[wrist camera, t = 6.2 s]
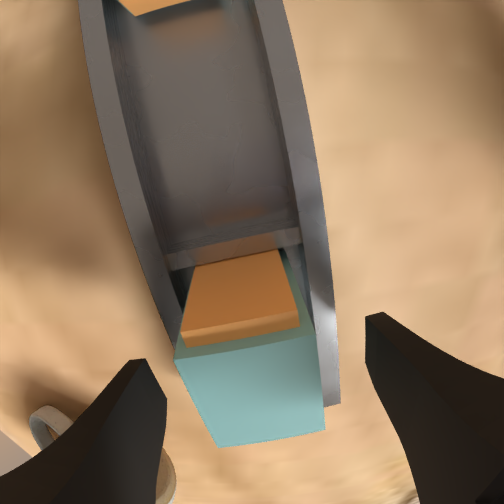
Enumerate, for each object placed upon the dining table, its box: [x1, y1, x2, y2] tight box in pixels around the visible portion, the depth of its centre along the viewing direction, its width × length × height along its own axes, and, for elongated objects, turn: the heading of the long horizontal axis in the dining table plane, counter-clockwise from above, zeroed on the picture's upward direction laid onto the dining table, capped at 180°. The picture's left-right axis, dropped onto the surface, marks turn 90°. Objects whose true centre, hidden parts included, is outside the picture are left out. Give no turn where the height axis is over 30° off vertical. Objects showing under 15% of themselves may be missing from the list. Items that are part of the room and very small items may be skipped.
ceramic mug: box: [29, 405, 176, 504], centre depth 14 cm, size 11×8×8 cm
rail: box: [78, 0, 340, 407], centre depth 10 cm, size 6×22×3 cm, turn 12°
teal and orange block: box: [173, 249, 325, 448], centre depth 10 cm, size 3×4×5 cm
